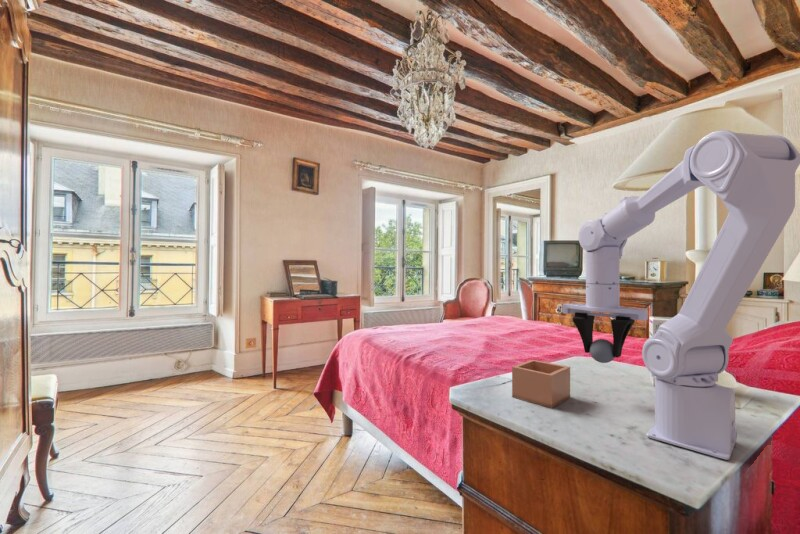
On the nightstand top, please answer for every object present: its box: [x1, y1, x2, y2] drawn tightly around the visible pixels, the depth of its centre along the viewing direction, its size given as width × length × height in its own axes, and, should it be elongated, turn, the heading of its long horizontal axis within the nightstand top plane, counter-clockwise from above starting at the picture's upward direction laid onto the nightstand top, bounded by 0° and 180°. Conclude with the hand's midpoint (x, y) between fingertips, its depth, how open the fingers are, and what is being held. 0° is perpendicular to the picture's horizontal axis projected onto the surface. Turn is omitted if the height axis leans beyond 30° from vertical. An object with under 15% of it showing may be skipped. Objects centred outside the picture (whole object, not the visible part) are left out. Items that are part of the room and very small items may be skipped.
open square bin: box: [511, 359, 571, 409], centre depth 74 cm, size 8×8×6 cm
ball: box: [589, 338, 616, 364], centre depth 72 cm, size 4×4×4 cm
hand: (602, 354), depth 72 cm, fingers closed on ball, 4 cm apart
